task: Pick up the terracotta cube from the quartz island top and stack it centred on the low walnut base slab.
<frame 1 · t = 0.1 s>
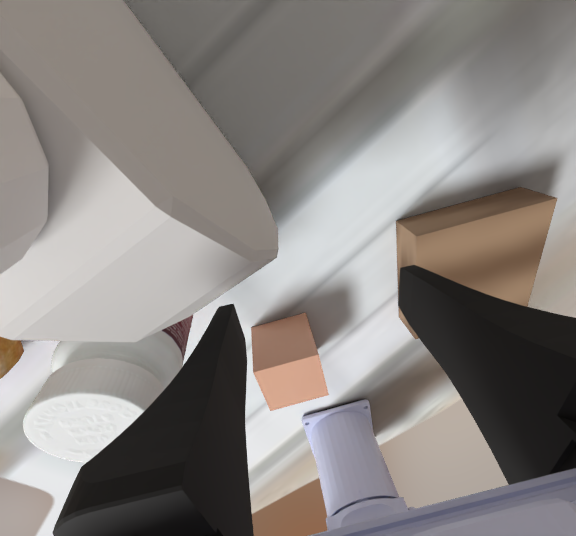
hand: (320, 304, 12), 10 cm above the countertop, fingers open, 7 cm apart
pill bottle: (158, 284, 22), on the countertop
walnut base: (453, 258, 25), on the countertop
terracotta block: (284, 339, 27), on the countertop
soap bottle: (155, 108, 16), on the countertop
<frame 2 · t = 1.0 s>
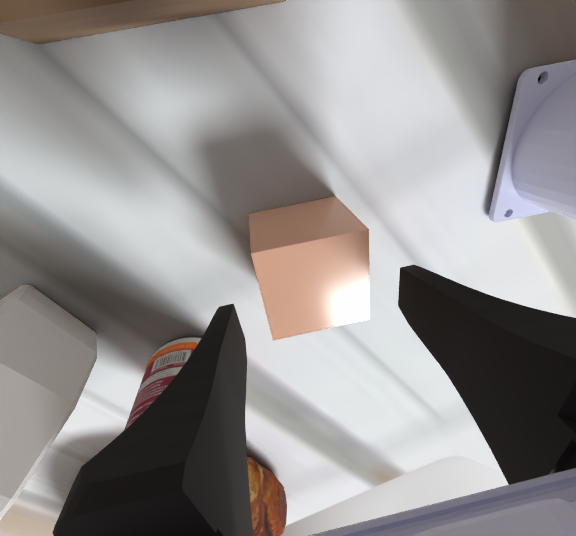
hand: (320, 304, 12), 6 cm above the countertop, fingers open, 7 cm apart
pill bottle: (194, 362, 21), on the countertop
bread: (187, 485, 30), on the countertop
terracotta block: (298, 243, 17), on the countertop
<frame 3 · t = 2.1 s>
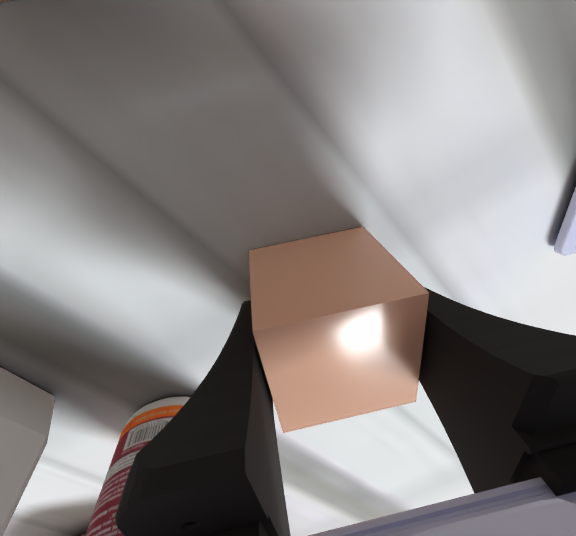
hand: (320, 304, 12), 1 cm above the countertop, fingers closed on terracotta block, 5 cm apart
pill bottle: (182, 422, 17), on the countertop
terracotta block: (312, 286, 13), on the countertop, touching gripper
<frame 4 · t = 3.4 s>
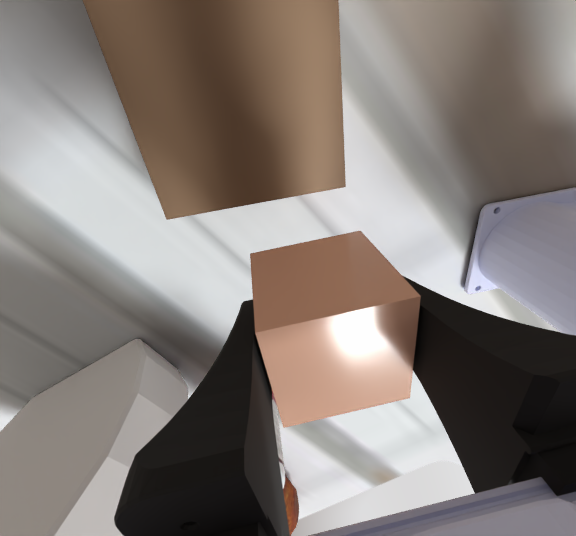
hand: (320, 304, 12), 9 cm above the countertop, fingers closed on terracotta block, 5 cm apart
pill bottle: (243, 389, 28), on the countertop
bread: (218, 488, 37), on the countertop
walnut base: (237, 99, 16), on the countertop
terracotta block: (312, 287, 14), point 7 cm above the countertop, touching gripper
soap bottle: (106, 379, 25), on the countertop
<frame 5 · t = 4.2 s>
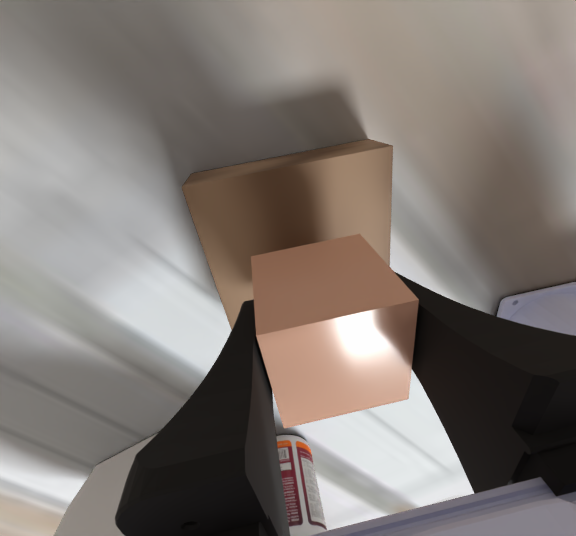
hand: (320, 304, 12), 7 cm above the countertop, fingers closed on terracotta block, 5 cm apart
pill bottle: (281, 447, 31), on the countertop
walnut base: (294, 237, 18), on the countertop
terracotta block: (312, 289, 14), point 5 cm above the countertop, touching gripper
soap bottle: (161, 446, 28), on the countertop
when the fingers open (6 cm above the countertop, at t = 4.9 s): terracotta block stays where it is, resting on walnut base.
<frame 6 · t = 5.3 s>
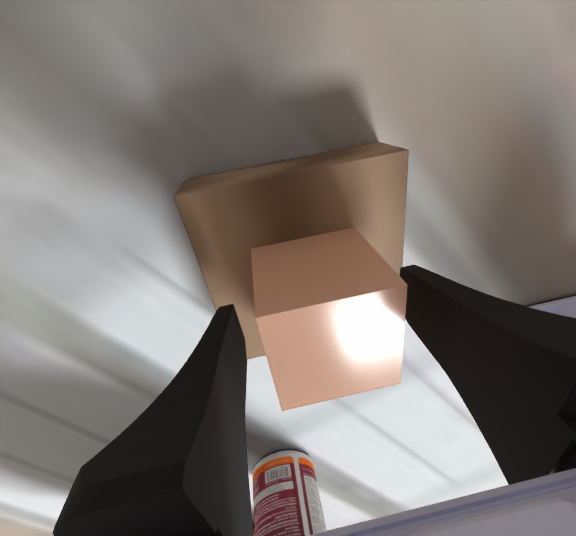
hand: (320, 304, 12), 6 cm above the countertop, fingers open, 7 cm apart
pill bottle: (282, 462, 29), on the countertop
walnut base: (297, 247, 17), on the countertop
terracotta block: (309, 281, 15), point 3 cm above the countertop, touching walnut base
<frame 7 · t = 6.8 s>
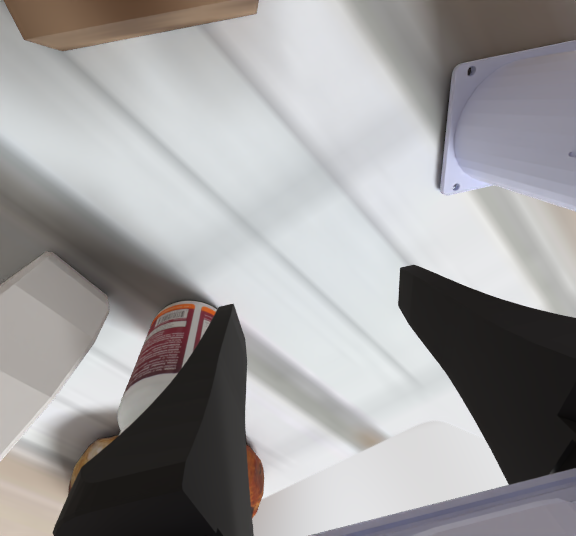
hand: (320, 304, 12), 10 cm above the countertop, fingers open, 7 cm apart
pill bottle: (192, 325, 24), on the countertop
bread: (177, 461, 34), on the countertop
soap bottle: (25, 309, 21), on the countertop
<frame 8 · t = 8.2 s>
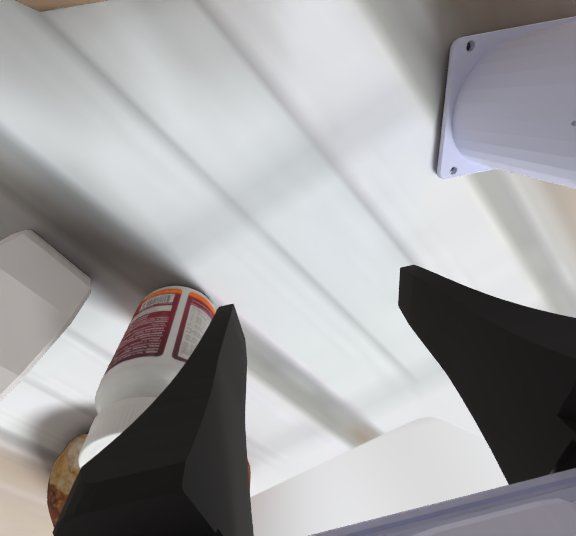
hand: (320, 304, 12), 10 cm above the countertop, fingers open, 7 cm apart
pill bottle: (180, 312, 24), on the countertop
bread: (162, 458, 34), on the countertop
soap bottle: (4, 292, 21), on the countertop
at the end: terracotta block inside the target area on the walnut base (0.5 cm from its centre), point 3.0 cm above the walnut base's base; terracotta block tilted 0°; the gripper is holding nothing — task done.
